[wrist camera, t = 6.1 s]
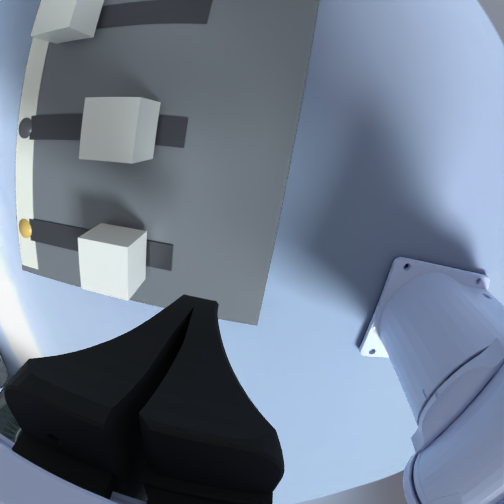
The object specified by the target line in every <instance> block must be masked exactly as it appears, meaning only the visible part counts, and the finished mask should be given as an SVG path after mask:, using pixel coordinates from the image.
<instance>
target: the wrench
mask: <svg viewBox="0 0 504 504" xmlns="http://www.w3.org/2000/svg"><path fill="white" fill-rule="evenodd" d="M7 380H8V373H7V370H6V367H5V364H4V362H3V360H2V357H1V355H0V388H2V387H4V386H5V384H6V383H7Z"/></svg>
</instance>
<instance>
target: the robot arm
mask: <svg viewBox="0 0 504 504" xmlns="http://www.w3.org/2000/svg"><path fill="white" fill-rule="evenodd" d="M407 263H409V264H408V267H407V268H404V266H405V264H407ZM477 279H478V280H477ZM476 280H477V281H476ZM489 284H490V278H489V277H488V276H487V275H483V274H479V273H474V272H470V271H465V270H461V269H456V268H452V267H447V266H443V265H438V264H433V263H429V262H424V261H419V260H414V259H410V258H405V257H397V258H396V259H395V260H394V261H393V263H392V266H391V269H390V272H389V275H388V278H387V281H386V283H385V286H384V289H383V292H382V294H381V297H380V300H379V302H378V305H377V307H376V310H375V312H374V315H373V317H372V320H371V322H370V325H369V327H368V329H367V332H366V334H365V336H364V339H363V341H362V343H361V346H360V348H359V351H360V354H361V355H362V356H371V357H385V358H390V360H391V363H392V365H393V367H394V369H395V372H396V374H397V376H398V378H399V381H400V383H401V385H402V388H403V390H404V392H405V395H406V397H407V400H408V402H409V405H410V407H411V409H412V412H413V414H414V417H415V419H416V422H417V425H418V429H417V431H416V432H415V434H414V435H413V436H412V437H411V440H412V442H413V445H414V448H415V451H416V453H415V454H414V455H413V456H412V457H411V458H410V460H409V461H408V463H407V465H406V467H405V470H404V475H403V489H404V494H405V498H406V501H407V504H504V306H503V305H502V304H501V303H500V302H499V301H498V300H497V299H496V298H495V297H494V296H492V295H491V294H490V293H489V292H488V291H487V289H488V286H489ZM218 307H219V304H218V303H217V301H214V300H209V299H204V298H199V297H194V296H189V295H185V294H184V295H182V296H181V297H179V298H178V299H177V300H175V301H174V302H173V303H171V304H170V305H169V306H167V307H166V308H165V309H163V310H162V311H161V312H159V313H158V314H156V315H155V316H153V317H152V318H151V319H149V320H147V321H146V322H144V323H143V324H141V325H139V326H138V327H136V328H134V329H133V330H131V331H129V332H127V333H125V334H123V335H121V336H119V337H116V338H114V339H112V340H109V341H107V342H104V343H101V344H98V345H96V346H93V347H90V348H87V349H83V350H80V351H76V352H72V353H67V354H63V355H57V356H50V357H42V358H34V359H29V360H28V361H27V362H26V363H25V364H24V365H23V366H22V367H21V368H20V370H19V371H18V372H17V373H16V374H15V376H14V377H13V378H12V379H11V380H10V382H9V383H8V384H7V385H6V387H5V389H4V396H5V400H6V403H7V405H8V407H9V409H10V411H11V413H12V414H13V416H14V418H15V420H16V421H17V423H18V425H19V426H20V428H21V430H22V433H21V434H20V436H19V438H18V439H17V441H16V442H15V443H14V442H12V441H11V440H9V439H8V438H6V437H5V436H3V435H2V434H0V504H272V497H273V491H274V489H275V488H276V486H277V485H278V483H279V482H280V480H281V479H282V477H283V474H284V460H283V454H282V449H281V445H280V442H279V439H278V435H277V432H276V430H275V429H274V428H273V427H272V426H271V424H270V423H269V422H268V421H267V420H266V419H265V418H264V417H263V416H262V414H261V413H260V412H259V411H258V409H257V408H256V407H255V405H254V404H253V403H252V402H251V400H250V399H249V397H248V396H247V394H246V392H245V391H244V389H243V388H242V386H241V384H240V383H239V381H238V379H237V377H236V375H235V373H234V371H233V369H232V367H231V365H230V363H229V360H228V358H227V355H226V352H225V349H224V346H223V343H222V339H221V335H220V330H219V325H218ZM372 349H374V350H372ZM370 350H372V351H370ZM146 501H147V502H146Z"/></svg>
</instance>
